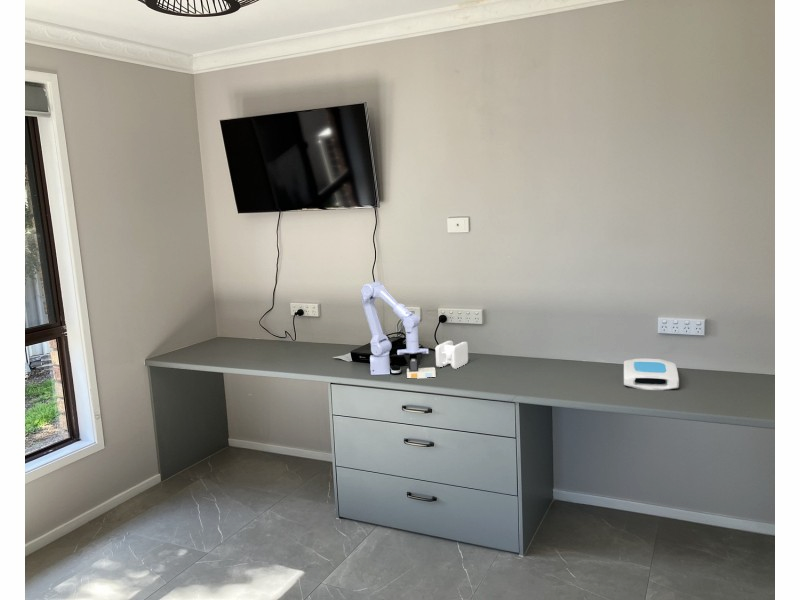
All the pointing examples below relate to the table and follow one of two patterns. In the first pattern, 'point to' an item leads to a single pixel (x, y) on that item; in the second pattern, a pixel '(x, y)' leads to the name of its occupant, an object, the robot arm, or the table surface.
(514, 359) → the table surface
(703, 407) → the table surface
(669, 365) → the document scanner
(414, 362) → the plug
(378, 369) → the robot arm
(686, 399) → the table surface
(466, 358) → the cable organizer
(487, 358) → the table surface
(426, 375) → the white printed box
